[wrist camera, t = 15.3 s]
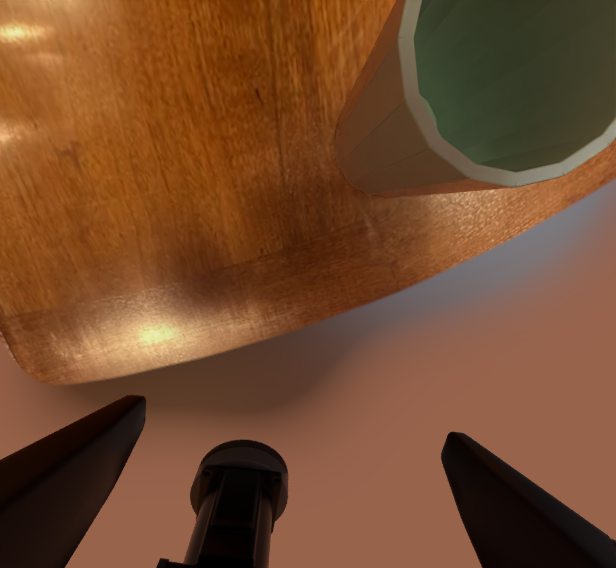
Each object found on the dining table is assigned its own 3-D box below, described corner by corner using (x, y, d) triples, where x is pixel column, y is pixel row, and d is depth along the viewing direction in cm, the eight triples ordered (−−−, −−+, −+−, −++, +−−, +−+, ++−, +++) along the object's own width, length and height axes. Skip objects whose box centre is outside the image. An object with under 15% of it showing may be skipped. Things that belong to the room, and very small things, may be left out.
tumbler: (422, 205, 20) (603, 205, 8) (325, 187, 19) (371, 159, 8) (452, 94, 18) (734, -106, 6) (346, 70, 17) (447, -197, 6)
